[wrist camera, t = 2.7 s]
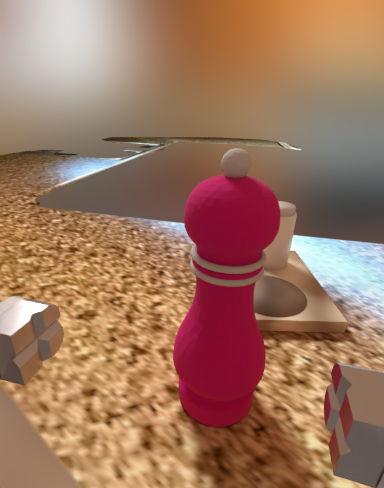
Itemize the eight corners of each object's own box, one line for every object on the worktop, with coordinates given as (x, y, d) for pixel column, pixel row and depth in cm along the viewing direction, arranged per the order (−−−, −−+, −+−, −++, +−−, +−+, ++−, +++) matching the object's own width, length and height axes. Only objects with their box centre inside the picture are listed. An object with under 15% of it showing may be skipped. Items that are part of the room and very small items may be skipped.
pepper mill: (230, 351, 29) (253, 142, 21) (276, 413, 23) (334, 155, 15) (161, 373, 26) (158, 142, 18) (193, 450, 20) (210, 159, 12)
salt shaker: (257, 269, 42) (265, 209, 38) (250, 254, 46) (257, 199, 43) (291, 270, 42) (303, 211, 38) (281, 255, 46) (291, 200, 43)
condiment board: (201, 328, 32) (201, 317, 31) (198, 256, 49) (198, 247, 48) (344, 332, 32) (348, 321, 32) (293, 259, 49) (295, 250, 48)
